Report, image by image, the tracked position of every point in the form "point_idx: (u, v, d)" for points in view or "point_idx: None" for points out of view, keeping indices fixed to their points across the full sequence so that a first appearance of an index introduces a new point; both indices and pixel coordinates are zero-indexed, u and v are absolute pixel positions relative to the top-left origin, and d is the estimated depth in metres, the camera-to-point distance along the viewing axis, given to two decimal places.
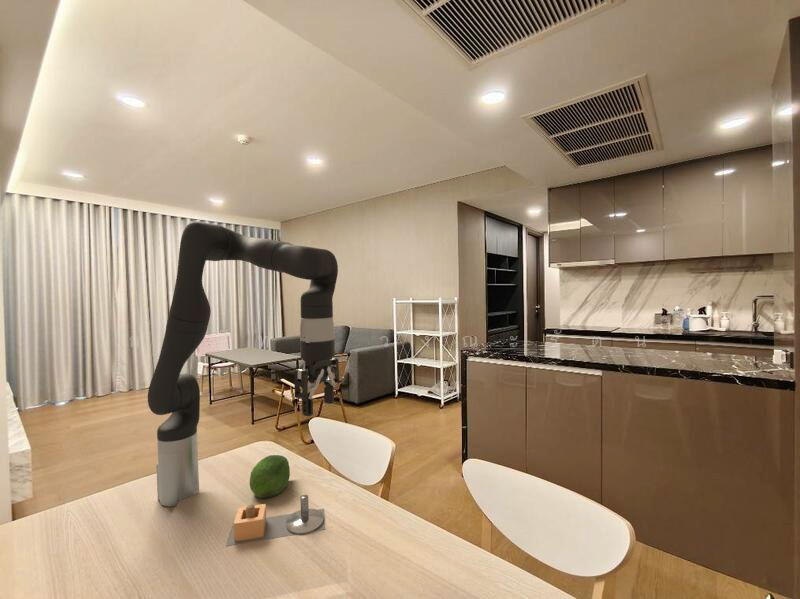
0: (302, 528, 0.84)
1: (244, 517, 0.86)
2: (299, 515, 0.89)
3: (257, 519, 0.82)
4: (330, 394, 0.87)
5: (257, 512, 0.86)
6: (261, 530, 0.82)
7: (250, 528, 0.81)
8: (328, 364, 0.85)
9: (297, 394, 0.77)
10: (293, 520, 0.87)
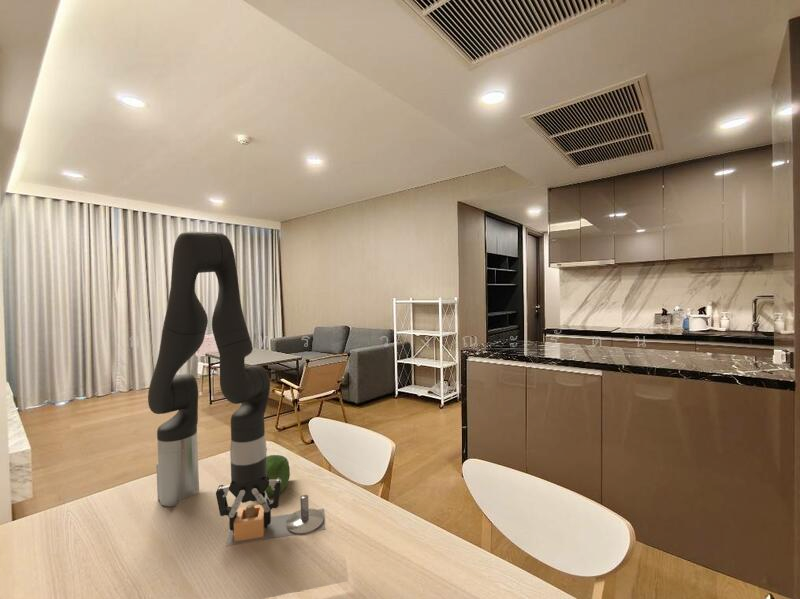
0: (302, 528, 0.84)
1: (244, 517, 0.86)
2: (299, 515, 0.89)
3: (257, 519, 0.82)
4: None
5: (257, 512, 0.86)
6: (261, 530, 0.82)
7: (250, 528, 0.81)
8: None
9: (277, 502, 0.85)
10: (293, 520, 0.87)
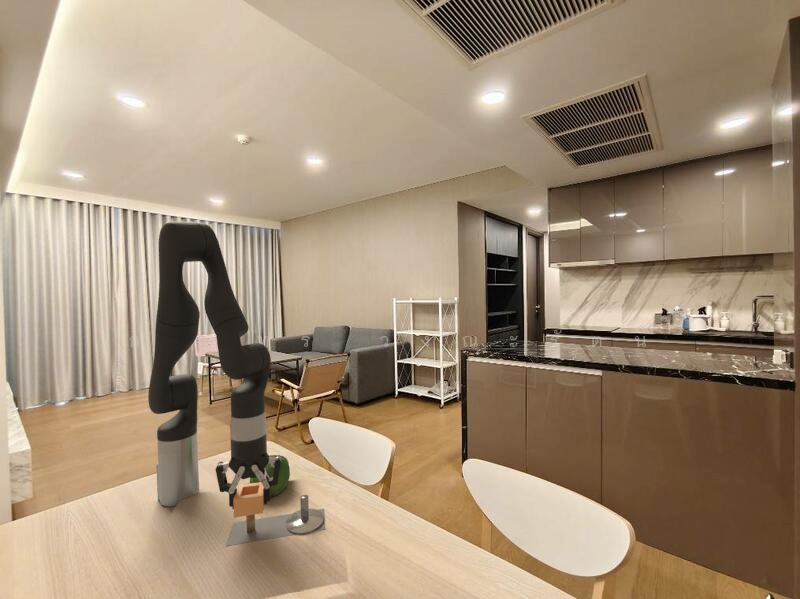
0: (302, 528, 0.84)
1: (243, 494, 0.86)
2: (299, 515, 0.89)
3: (257, 495, 0.82)
4: None
5: (257, 489, 0.86)
6: (261, 506, 0.82)
7: (250, 504, 0.81)
8: None
9: None
10: (293, 520, 0.87)
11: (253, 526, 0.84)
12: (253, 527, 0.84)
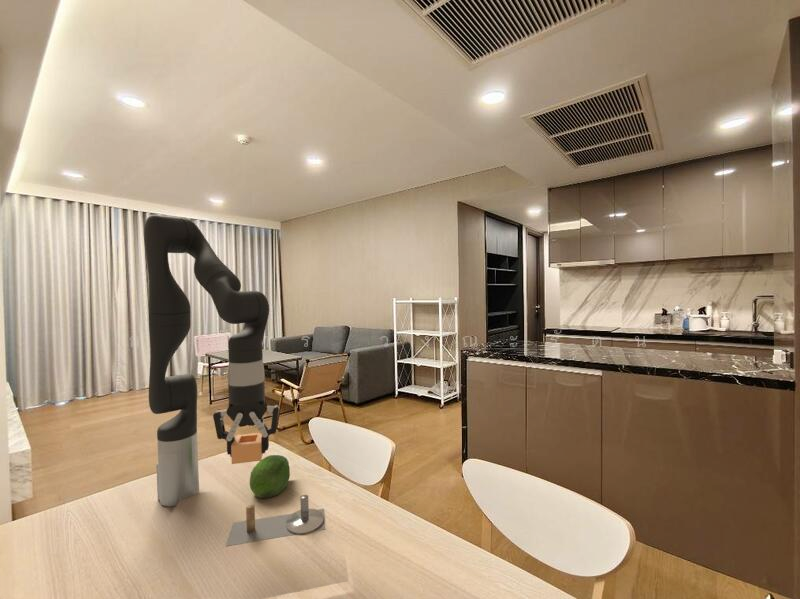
0: (302, 528, 0.84)
1: None
2: (299, 515, 0.89)
3: (255, 443, 0.81)
4: None
5: (255, 439, 0.86)
6: (259, 454, 0.81)
7: (248, 451, 0.81)
8: None
9: (275, 428, 0.84)
10: (293, 520, 0.87)
11: (253, 526, 0.84)
12: (253, 527, 0.84)
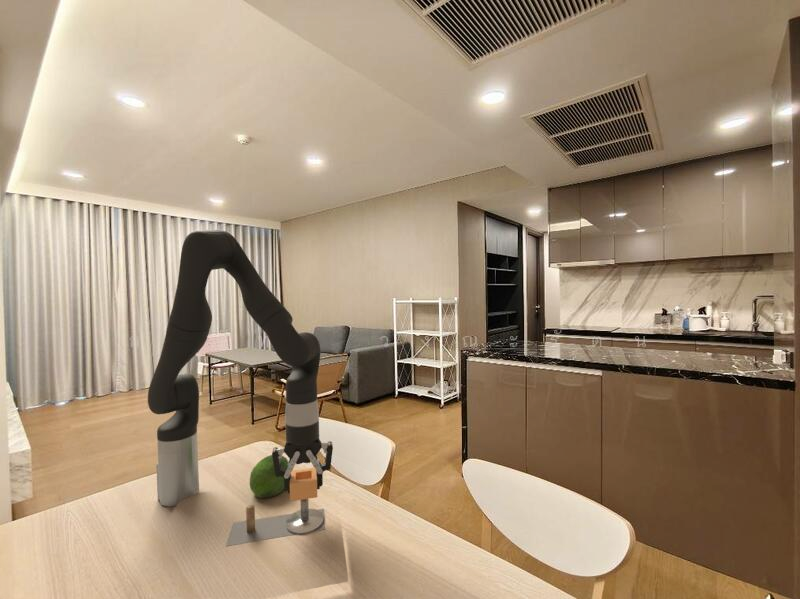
0: (302, 528, 0.84)
1: (296, 480, 0.88)
2: (299, 515, 0.89)
3: (311, 480, 0.84)
4: None
5: (309, 475, 0.89)
6: (315, 491, 0.84)
7: (305, 488, 0.84)
8: None
9: None
10: (293, 520, 0.87)
11: (253, 526, 0.84)
12: (253, 527, 0.84)
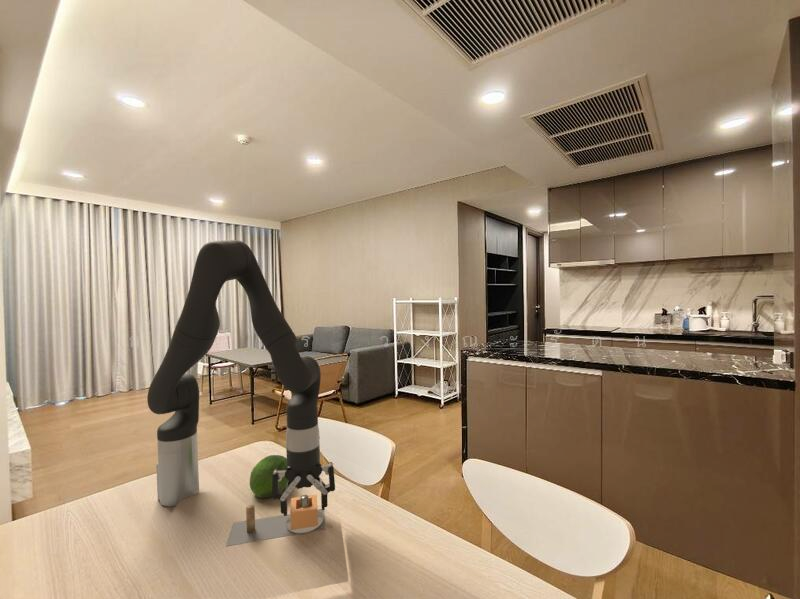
0: (302, 528, 0.84)
1: (297, 507, 0.88)
2: None
3: (312, 508, 0.85)
4: None
5: (309, 502, 0.89)
6: (316, 519, 0.85)
7: (305, 517, 0.84)
8: None
9: None
10: None
11: (253, 526, 0.84)
12: (253, 527, 0.84)
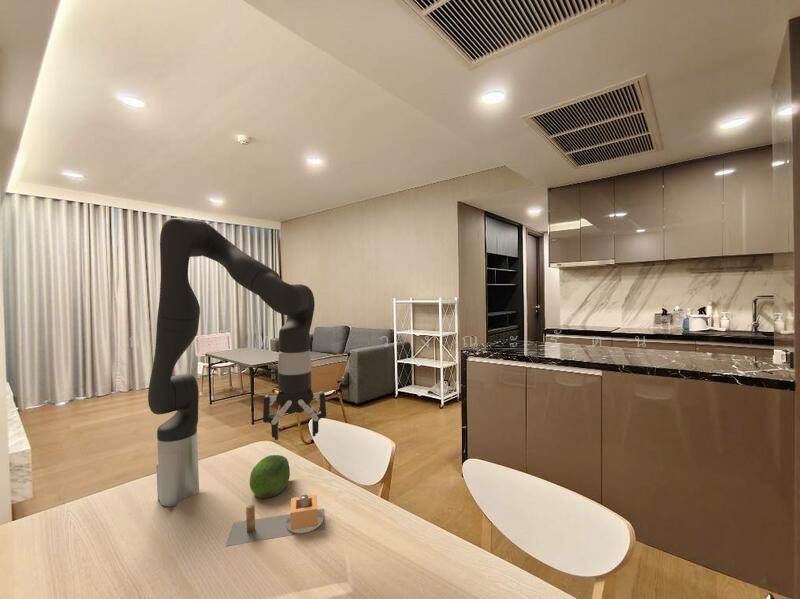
0: (302, 528, 0.84)
1: (297, 507, 0.88)
2: None
3: (312, 508, 0.85)
4: None
5: (309, 502, 0.89)
6: (316, 519, 0.85)
7: (305, 517, 0.84)
8: None
9: (325, 413, 0.89)
10: None
11: (253, 526, 0.84)
12: (253, 527, 0.84)
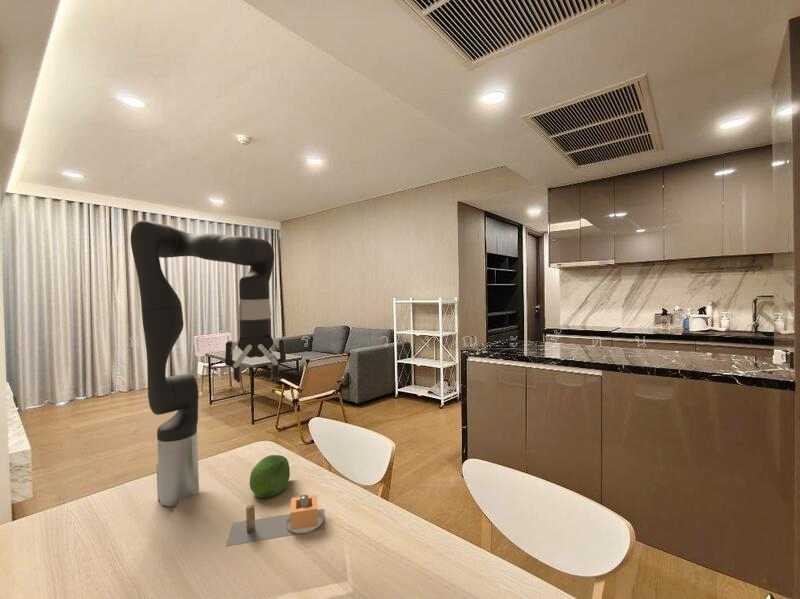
0: (302, 528, 0.84)
1: (297, 507, 0.88)
2: None
3: (312, 508, 0.85)
4: (240, 372, 0.94)
5: (309, 502, 0.89)
6: (316, 519, 0.85)
7: (305, 517, 0.84)
8: None
9: (285, 358, 0.95)
10: None
11: (253, 526, 0.84)
12: (253, 527, 0.84)
